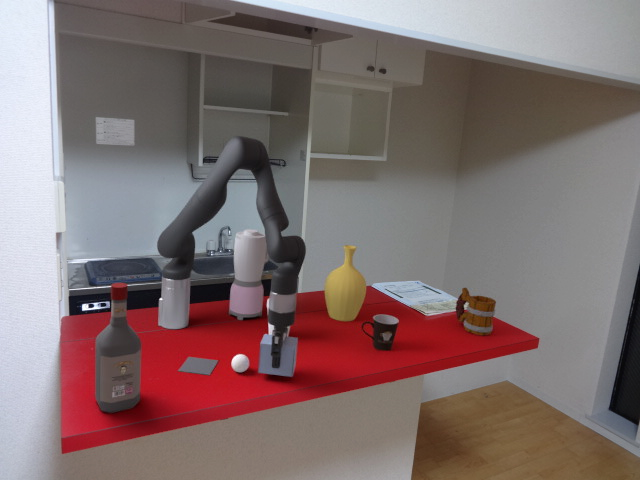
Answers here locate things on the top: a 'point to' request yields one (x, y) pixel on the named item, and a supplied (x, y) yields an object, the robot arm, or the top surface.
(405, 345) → the top surface
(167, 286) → the robot arm
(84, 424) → the top surface
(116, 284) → the liquor
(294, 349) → the periwinkle rectangular block
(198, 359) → the tape square
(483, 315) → the mug
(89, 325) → the top surface
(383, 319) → the coffee mug
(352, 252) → the vase
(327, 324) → the top surface
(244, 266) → the blender
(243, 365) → the ball
